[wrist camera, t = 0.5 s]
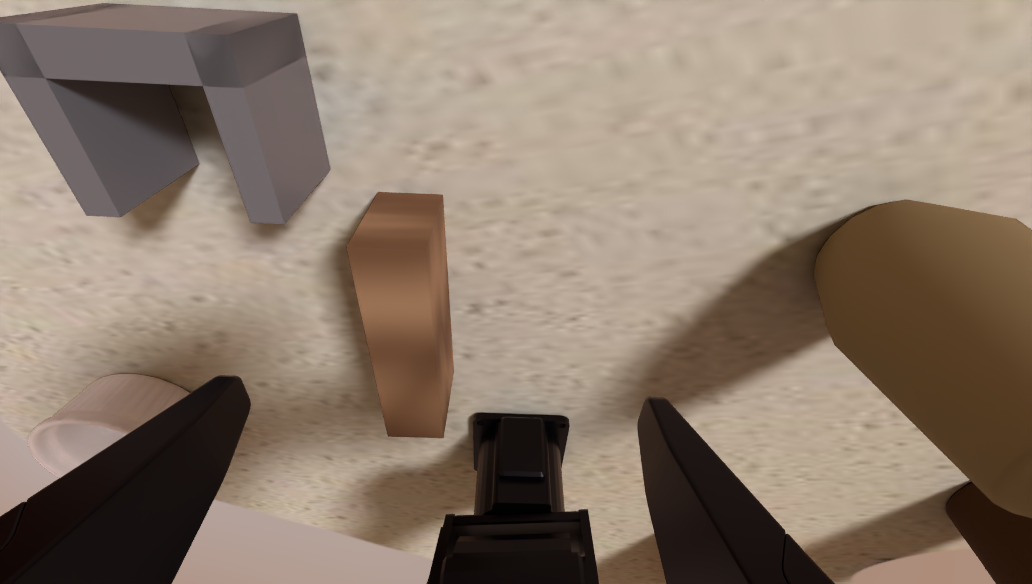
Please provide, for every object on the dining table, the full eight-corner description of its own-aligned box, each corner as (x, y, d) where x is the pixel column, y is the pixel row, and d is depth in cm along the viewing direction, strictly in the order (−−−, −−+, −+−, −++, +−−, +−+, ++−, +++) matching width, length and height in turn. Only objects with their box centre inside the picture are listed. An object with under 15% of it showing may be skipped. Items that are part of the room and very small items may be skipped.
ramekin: (80, 421, 32) (27, 479, 28) (84, 345, 27) (21, 402, 24) (213, 460, 35) (180, 516, 31) (237, 396, 30) (201, 454, 27)
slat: (454, 369, 28) (443, 438, 24) (406, 367, 28) (387, 436, 24) (443, 193, 21) (425, 250, 17) (379, 190, 21) (346, 247, 17)
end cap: (330, 169, 20) (284, 224, 16) (171, 162, 20) (86, 215, 16) (296, 13, 17) (227, 34, 13) (103, 3, 16) (-30, 21, 12)
